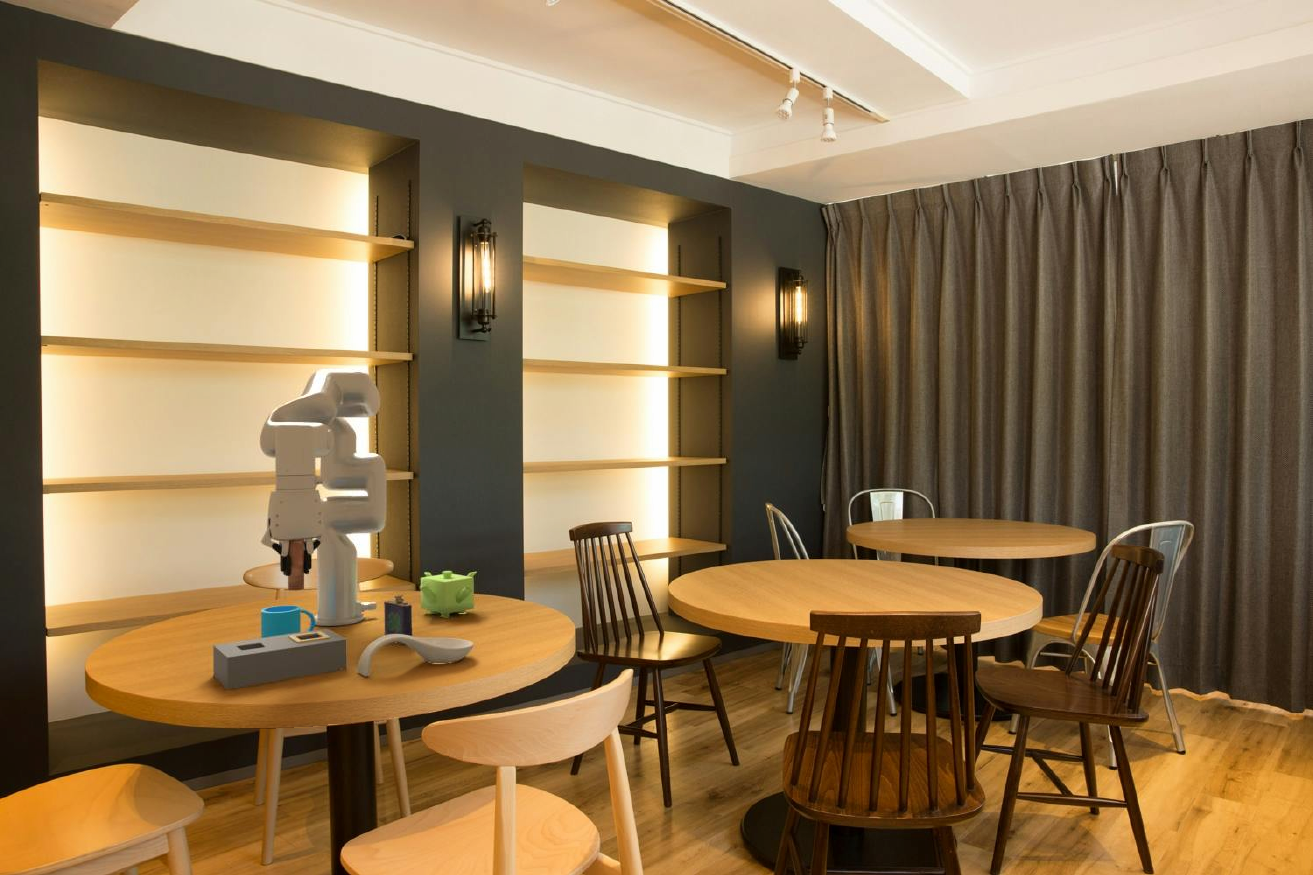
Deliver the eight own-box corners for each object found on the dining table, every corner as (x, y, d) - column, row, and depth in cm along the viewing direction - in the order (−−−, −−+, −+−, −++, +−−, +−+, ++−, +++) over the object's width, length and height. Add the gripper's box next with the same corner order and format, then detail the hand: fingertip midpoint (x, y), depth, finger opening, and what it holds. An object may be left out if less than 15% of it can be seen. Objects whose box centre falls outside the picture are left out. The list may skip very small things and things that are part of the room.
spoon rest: (457, 650, 187) (457, 618, 187) (483, 661, 178) (483, 627, 178) (350, 670, 172) (350, 635, 172) (372, 683, 163) (372, 646, 163)
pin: (301, 587, 176) (301, 538, 175) (305, 589, 173) (305, 540, 173) (286, 588, 174) (286, 539, 174) (290, 590, 171) (290, 541, 171)
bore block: (327, 656, 182) (327, 627, 182) (346, 668, 172) (346, 637, 172) (213, 675, 168) (213, 643, 168) (227, 689, 159) (227, 655, 159)
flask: (382, 639, 197) (382, 593, 197) (393, 637, 199) (393, 591, 199) (405, 646, 191) (405, 598, 191) (416, 643, 193) (416, 596, 193)
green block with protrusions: (424, 608, 231) (424, 567, 231) (477, 607, 233) (477, 566, 233) (414, 620, 216) (414, 576, 216) (471, 619, 218) (471, 575, 218)
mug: (270, 651, 186) (270, 614, 186) (255, 645, 192) (254, 609, 192) (323, 641, 195) (323, 606, 195) (307, 636, 200) (307, 601, 200)
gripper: (331, 481, 181) (331, 567, 181) (247, 484, 171) (248, 575, 171) (342, 483, 175) (342, 572, 175) (256, 486, 165) (257, 581, 166)
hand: (296, 573), depth 173 cm, fingers closed on pin, 3 cm apart
